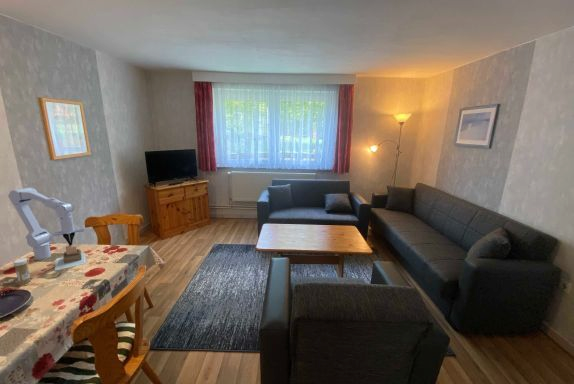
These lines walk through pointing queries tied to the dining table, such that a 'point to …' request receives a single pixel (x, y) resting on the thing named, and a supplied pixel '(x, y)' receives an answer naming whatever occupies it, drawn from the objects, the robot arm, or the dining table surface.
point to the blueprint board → (61, 265)
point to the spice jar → (22, 271)
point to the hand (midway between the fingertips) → (70, 244)
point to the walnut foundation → (72, 257)
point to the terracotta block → (71, 249)
